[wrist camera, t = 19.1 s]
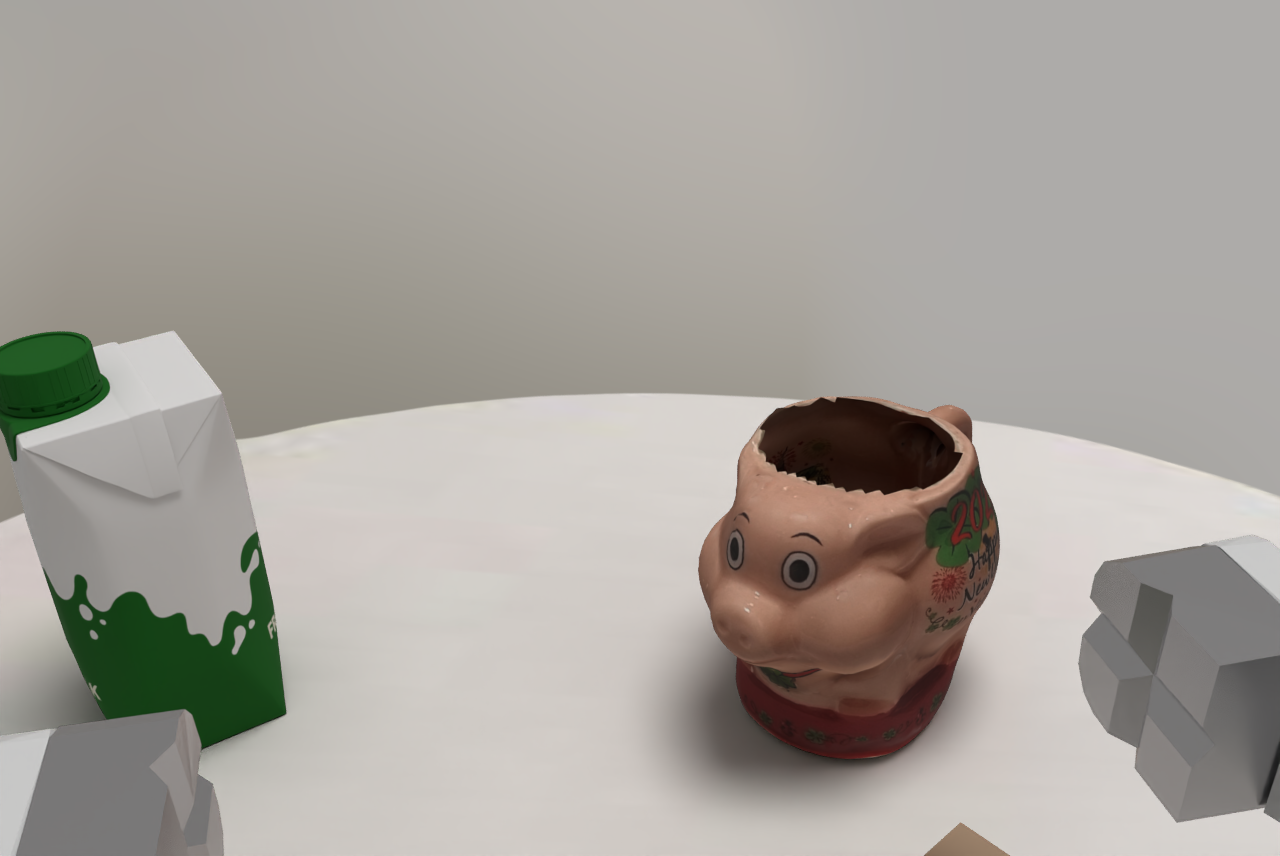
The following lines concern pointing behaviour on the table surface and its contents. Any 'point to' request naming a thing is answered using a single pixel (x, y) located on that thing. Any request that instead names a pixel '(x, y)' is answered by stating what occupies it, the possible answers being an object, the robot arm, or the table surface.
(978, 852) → the toolbox
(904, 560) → the pink ceramic mug
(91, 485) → the milk carton
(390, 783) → the table surface
